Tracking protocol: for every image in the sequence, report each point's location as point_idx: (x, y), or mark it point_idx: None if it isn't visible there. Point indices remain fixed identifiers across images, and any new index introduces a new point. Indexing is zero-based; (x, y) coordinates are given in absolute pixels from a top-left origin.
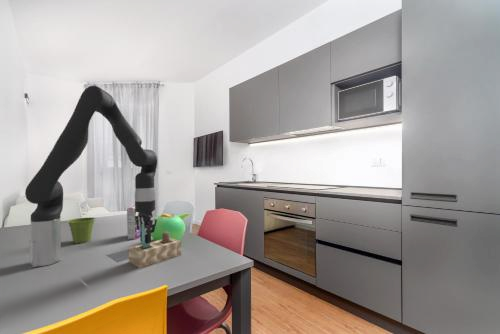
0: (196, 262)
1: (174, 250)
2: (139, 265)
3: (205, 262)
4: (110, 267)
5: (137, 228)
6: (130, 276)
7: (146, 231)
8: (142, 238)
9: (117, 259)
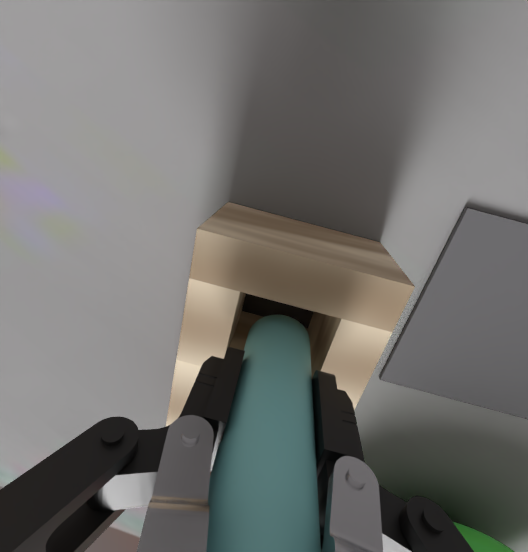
0: (47, 376)
1: None
2: (229, 207)
3: (15, 388)
4: (450, 123)
5: (436, 526)
6: (176, 84)
7: (162, 455)
8: (275, 382)
9: (509, 242)
